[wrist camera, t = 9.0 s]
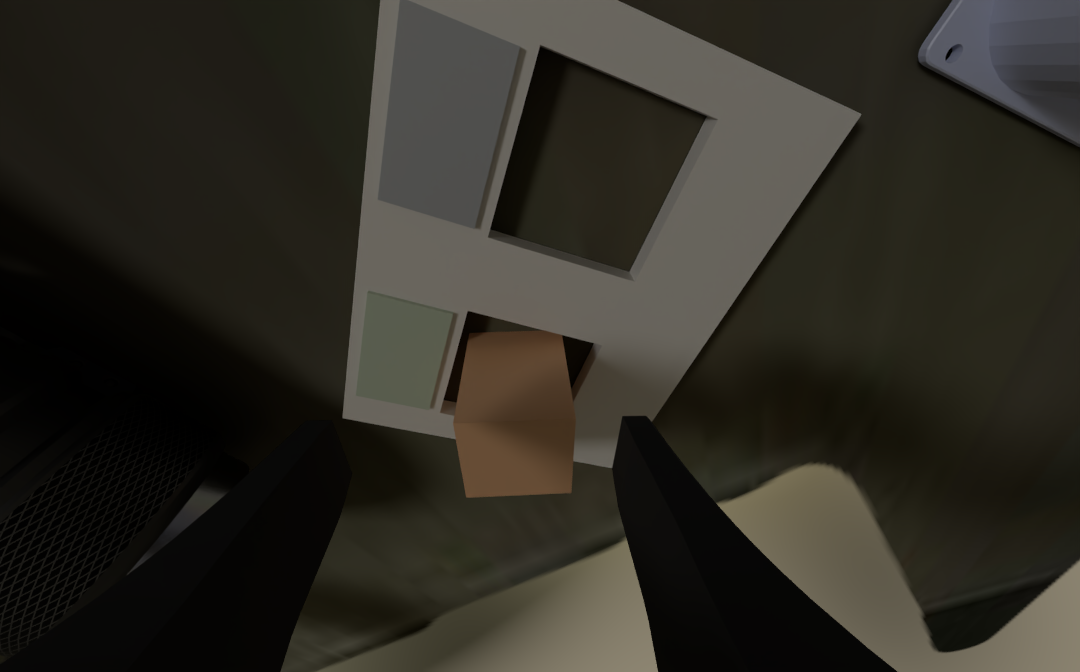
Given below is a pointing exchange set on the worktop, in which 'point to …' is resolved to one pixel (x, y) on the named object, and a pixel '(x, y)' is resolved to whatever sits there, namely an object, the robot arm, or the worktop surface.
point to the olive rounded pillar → (3, 659)
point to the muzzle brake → (89, 483)
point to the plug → (515, 415)
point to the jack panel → (542, 272)
